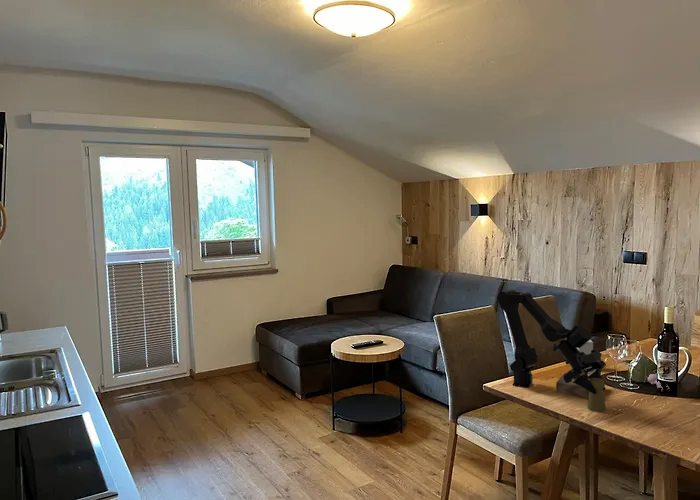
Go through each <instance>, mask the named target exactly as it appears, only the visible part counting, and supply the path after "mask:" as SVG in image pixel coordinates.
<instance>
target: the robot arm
mask: <svg viewBox="0 0 700 500" xmlns="http://www.w3.org/2000/svg"><path fill="white" fill-rule="evenodd" d="M496 298H497V299H496V300H497V302H498V305H499V307H500V308H501V310H502V311H504V313H505V314H506V317H507V321H508V324H509V329H510V331H511V335H512V339H513V342H514V345H515V349H514V354H513V355H514V361H513V362H512V363H511V364H510V365H509V368H510V371H512V372H513V383H512V385H511V386H516V387H521V388H522V387H523V388H527V389H528V388H529V387H531V386H532V385H533V373H532V370H533V369H535V366H536V365H537V363H538V357H539V356H538V355H537V353H536V348H535V347H531V345H529V344H528V340H527V336H526V332H525V330H524V326H523V323H522V320H521V316H520V312H519V306H520V305H522V306H523V308H525V310H526V311H527V312H528V313H529V314H530V315H531V317H533V319H534V320H535V321H536V322H537V323H538V325H539V326H540V328H541V329H540V330H541V332H542V334H543V336H544V337H545V338H546V340H547V341H548V342H551V343H554V344H553V349H552V351H553V352H557V351H559V352H560V354H561V355H562V356H563V358H564V359H565V360H566V361H565V362H564V363H565V364H566V365H569V366H570V367H571V369H570V370H568V371H566V372H565V373H566V374H565V375H563V374H562V375H563V379H564V381H565V382H566V384H567V383H569V382H571V381H572V379H573V378H574V380H575V381H574V382H573V383H575V384H577V385H579V386H581V387H583V388H585V389H586V390H588V391H590V392H591V393H593V394H596V393H597V392H596V390H595V388H594V387H593V385H592V384H591V382H590V381H589V379H591V378H600V379H602V380H603V378H602V374H601V373H602V370H603V368H604V367H606V366H607V364H606V363H605V361H604V360H603V359H602V355H603V354H602V352H601V351H600V350H599V349H598V348H595V349H594V348H593V350H591V353H590V354H585V353H584V352H580V351H579V350H578V349H577V348H581V347H582V346H583V345H584V344H586V343H587V342H588V341H589V340H592V338H593V337H592V336H593V335H592V333H591V331H590V330H589V329H586V328H585V327H583V326H581V325H580V324H575V325H574V326H573V328H572V329H568V328H566V327H565V326H564V325H563V324H561V323H560V322H559V321H557V320H556V319H553V318H552V317H551V316H549V314H548V313H547V312H546V311H545V310H544V309H543V308H542V306H541V305H539V303H538V301H536V300H535V299H534V298H533V296H532V294H531V293H529V292H523V291H516V290H514V289H508V290H503V291H500V292H498V295H497V296H496ZM557 341H558V342H557ZM555 342H557V343H555ZM588 378H589V379H588ZM604 391H606V387H605V386H604V388H603V392H604Z"/></svg>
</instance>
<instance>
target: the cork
mask: <svg viewBox="0 0 700 500" xmlns="http://www.w3.org/2000/svg"><path fill="white" fill-rule="evenodd" d="M589 381H590V382H591V384H592V385H593V387H594V388H595V390H596V392H597V393H596V394H593V393H591V392H590V393H589V398H588V399H587V400H588V402H587V407H586V409H587V410H589V411H591V412H594V413H603V412H606V411H607V408H606V400H605V394H604V391H603V388H604V386H605V385H606V384H605V380H604V379H603V378H602V379H600V378H591V379H590V380H589Z"/></svg>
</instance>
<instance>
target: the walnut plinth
mask: <svg viewBox="0 0 700 500" xmlns="http://www.w3.org/2000/svg"><path fill="white" fill-rule="evenodd" d="M566 373H567V372H564V373H563V374H562V375H561V376H560V377H559V379H558V380H557V381H556V383H555V388H556V389H555V393H556V394H560V395H568V396H572V397H573V396H574V397H580V398H584V399H589V393H590V391H588V390H586V389H585V388H583V387H581V386H579V385H577V384H575V383H573V382H574V381H575V380H574V378H573V379H572V381H571V382H569V383H567V384H566V382H565V381H564V379H563V375H565V374H566ZM588 379H589V378H588ZM589 380H590V379H589Z"/></svg>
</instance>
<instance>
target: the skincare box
mask: <svg viewBox="0 0 700 500" xmlns="http://www.w3.org/2000/svg"><path fill="white" fill-rule="evenodd" d="M576 348H577V347H576ZM577 349H578V350H579V351H580V352H584V353H585V354H590V353H591V350H594V342H593V341H592V339H590V340H589V341H588V342H587V343H586V344H584V345H583V346H582V347H581V348H577Z"/></svg>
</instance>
